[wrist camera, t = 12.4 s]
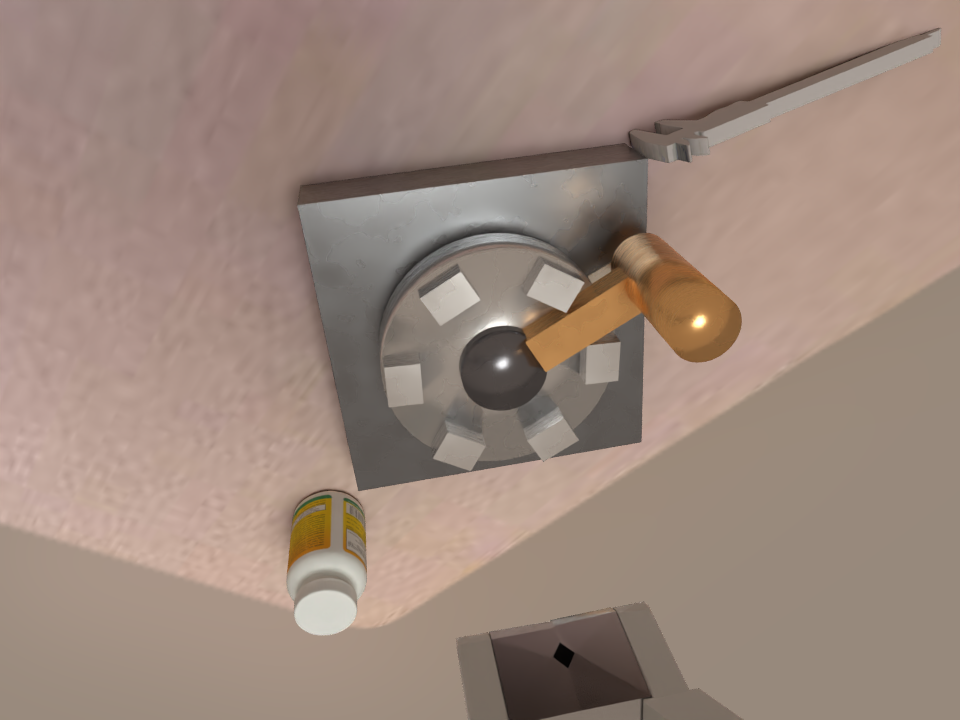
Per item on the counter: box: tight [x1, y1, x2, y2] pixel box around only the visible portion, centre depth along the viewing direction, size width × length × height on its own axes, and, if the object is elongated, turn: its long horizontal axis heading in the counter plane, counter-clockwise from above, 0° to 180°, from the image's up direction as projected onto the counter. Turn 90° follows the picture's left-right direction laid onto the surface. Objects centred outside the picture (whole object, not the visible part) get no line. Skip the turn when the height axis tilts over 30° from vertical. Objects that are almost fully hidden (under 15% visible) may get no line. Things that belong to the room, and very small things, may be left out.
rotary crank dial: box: [379, 233, 742, 471], centre depth 41 cm, size 19×14×11 cm
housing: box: [297, 144, 648, 491], centre depth 48 cm, size 20×20×4 cm
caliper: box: [630, 28, 941, 163], centre depth 44 cm, size 20×1×6 cm, turn 106°
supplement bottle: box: [287, 491, 367, 635], centre depth 52 cm, size 5×5×10 cm
